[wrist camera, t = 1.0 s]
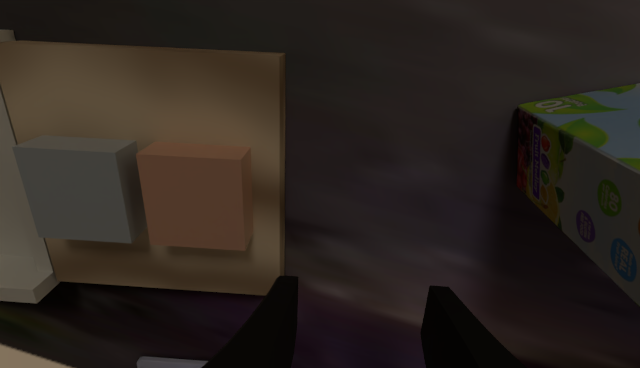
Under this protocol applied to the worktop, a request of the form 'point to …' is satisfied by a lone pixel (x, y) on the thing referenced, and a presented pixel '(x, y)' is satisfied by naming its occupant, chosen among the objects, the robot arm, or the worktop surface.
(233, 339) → the robot arm
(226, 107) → the board
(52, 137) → the slate tile
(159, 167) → the terracotta tile
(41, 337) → the worktop surface
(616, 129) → the snack box
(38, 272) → the tray
